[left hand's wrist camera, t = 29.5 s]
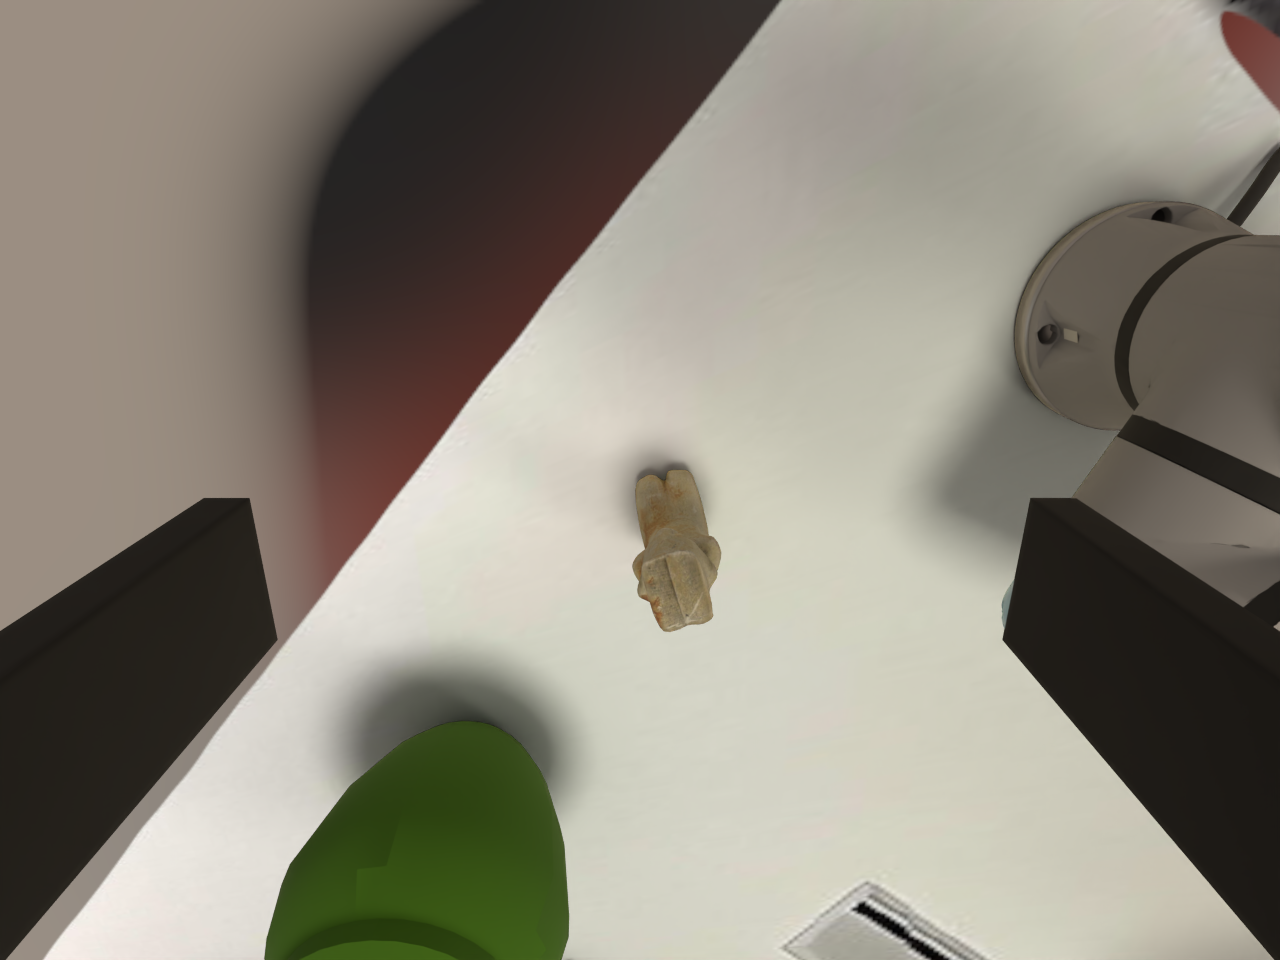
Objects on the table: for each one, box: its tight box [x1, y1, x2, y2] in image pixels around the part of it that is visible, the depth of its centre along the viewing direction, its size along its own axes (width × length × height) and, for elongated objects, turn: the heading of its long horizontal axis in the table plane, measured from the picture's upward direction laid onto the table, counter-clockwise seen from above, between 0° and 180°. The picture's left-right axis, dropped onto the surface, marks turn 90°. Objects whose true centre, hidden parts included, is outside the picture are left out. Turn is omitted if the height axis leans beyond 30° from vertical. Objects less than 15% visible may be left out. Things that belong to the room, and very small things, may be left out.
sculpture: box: [632, 470, 721, 632], centre depth 49 cm, size 6×7×15 cm
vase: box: [264, 721, 569, 960], centre depth 53 cm, size 20×20×24 cm
